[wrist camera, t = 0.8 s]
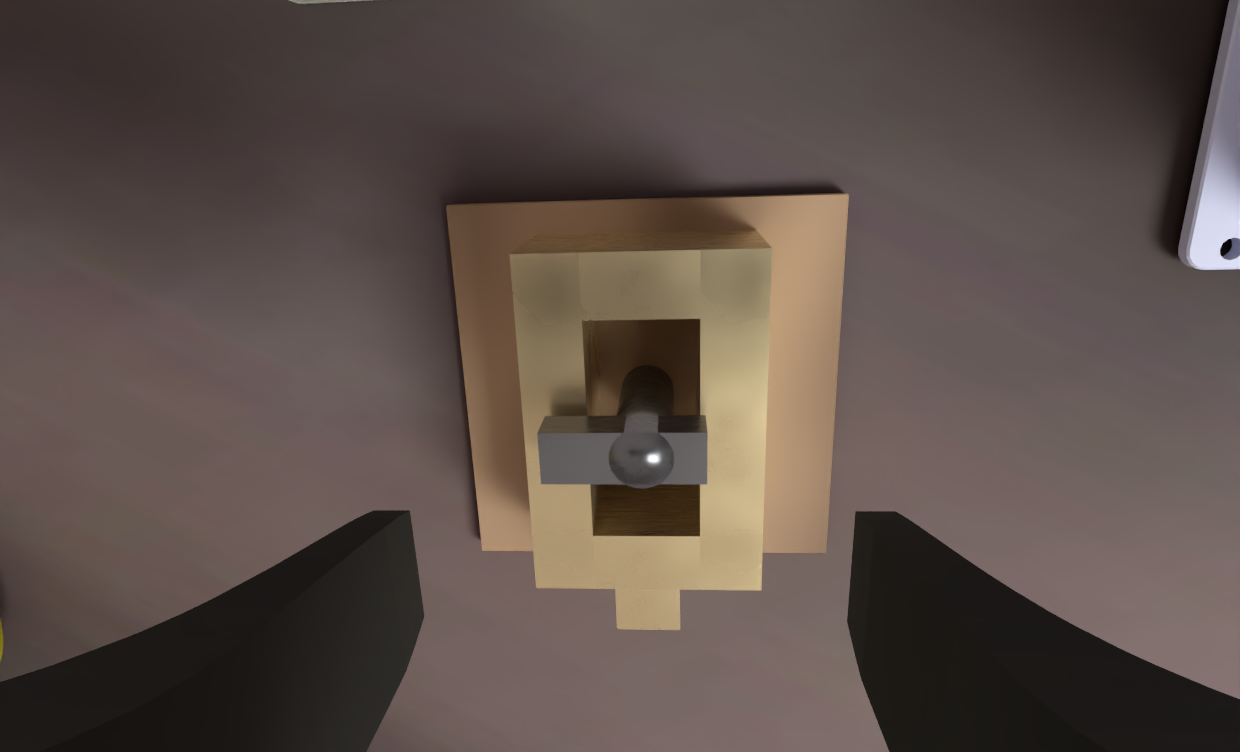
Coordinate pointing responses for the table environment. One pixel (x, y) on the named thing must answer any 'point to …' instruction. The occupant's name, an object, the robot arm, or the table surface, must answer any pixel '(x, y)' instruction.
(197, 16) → the table surface
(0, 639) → the tennis ball
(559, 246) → the gold hollow block
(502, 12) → the table surface
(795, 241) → the stake base
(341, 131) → the table surface
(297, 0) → the tray
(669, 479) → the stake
